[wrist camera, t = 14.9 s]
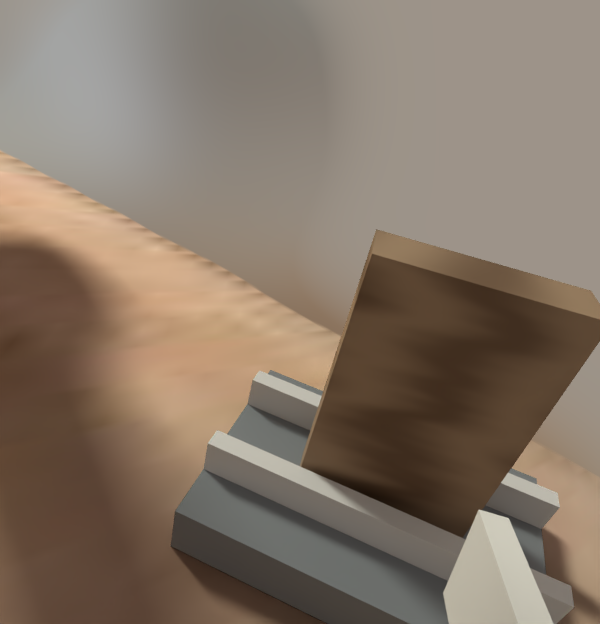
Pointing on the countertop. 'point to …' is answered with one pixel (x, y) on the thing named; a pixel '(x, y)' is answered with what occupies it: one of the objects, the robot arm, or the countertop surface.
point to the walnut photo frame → (444, 378)
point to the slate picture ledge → (333, 524)
